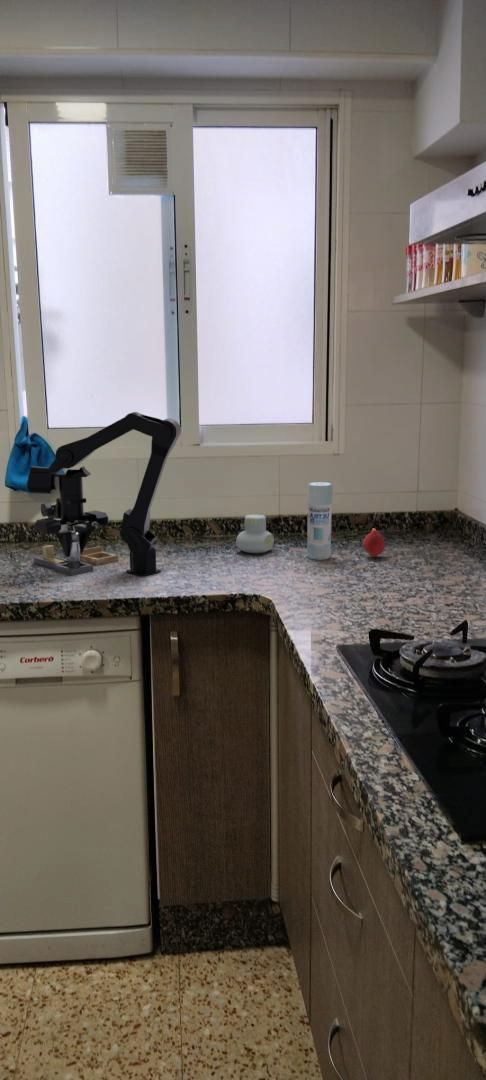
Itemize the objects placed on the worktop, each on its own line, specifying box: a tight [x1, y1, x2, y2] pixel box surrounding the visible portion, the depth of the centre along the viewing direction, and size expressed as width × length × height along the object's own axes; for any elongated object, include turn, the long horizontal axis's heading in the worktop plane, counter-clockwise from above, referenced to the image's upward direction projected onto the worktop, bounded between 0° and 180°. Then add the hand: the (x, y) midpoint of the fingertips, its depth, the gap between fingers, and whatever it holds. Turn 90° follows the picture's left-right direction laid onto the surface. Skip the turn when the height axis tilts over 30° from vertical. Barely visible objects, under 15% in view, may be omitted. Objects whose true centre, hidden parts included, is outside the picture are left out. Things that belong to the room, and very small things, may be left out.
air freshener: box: [235, 514, 275, 554], centre depth 243 cm, size 11×8×10 cm
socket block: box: [33, 555, 94, 576], centre depth 226 cm, size 18×7×2 cm, turn 46°
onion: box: [362, 528, 386, 558], centre depth 236 cm, size 6×6×8 cm
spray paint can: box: [306, 481, 333, 561], centre depth 235 cm, size 6×6×20 cm
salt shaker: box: [66, 530, 82, 568], centre depth 221 cm, size 4×4×10 cm
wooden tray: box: [81, 545, 119, 566], centre depth 232 cm, size 8×7×3 cm
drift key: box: [42, 544, 66, 564], centre depth 227 cm, size 7×2×4 cm, turn 46°
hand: (73, 555), depth 221 cm, fingers closed on salt shaker, 3 cm apart
